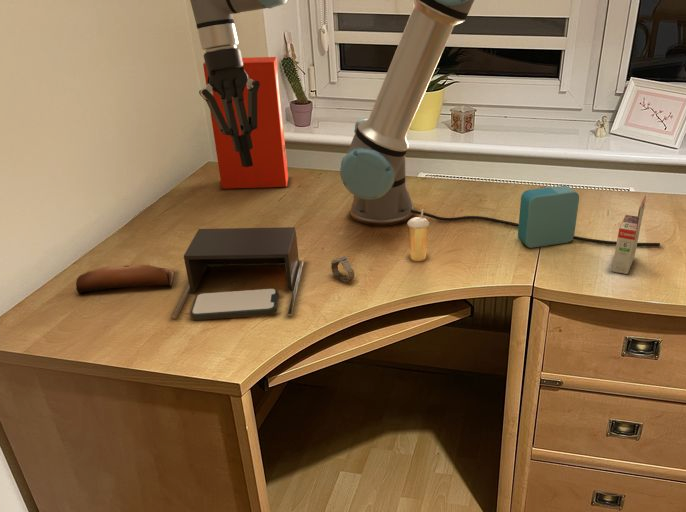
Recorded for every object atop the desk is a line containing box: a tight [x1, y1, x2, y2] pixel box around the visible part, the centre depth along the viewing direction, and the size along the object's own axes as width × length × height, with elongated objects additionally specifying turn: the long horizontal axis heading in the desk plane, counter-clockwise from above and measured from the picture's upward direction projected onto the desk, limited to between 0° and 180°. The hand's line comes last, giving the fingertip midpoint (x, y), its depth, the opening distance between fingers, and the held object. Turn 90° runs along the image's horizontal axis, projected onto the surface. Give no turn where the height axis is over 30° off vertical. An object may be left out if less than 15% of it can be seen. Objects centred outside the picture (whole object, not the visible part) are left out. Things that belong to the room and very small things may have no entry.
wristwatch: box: [330, 255, 356, 283], centre depth 143 cm, size 4×6×5 cm, turn 41°
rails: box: [171, 260, 305, 320], centre depth 141 cm, size 22×23×1 cm
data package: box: [517, 185, 580, 249], centre depth 156 cm, size 12×4×12 cm, turn 107°
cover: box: [183, 226, 300, 293], centre depth 144 cm, size 20×13×8 cm, turn 91°
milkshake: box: [406, 209, 430, 262], centre depth 151 cm, size 5×5×10 cm
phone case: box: [189, 288, 279, 321], centre depth 135 cm, size 9×2×16 cm
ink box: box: [610, 194, 647, 275], centre depth 145 cm, size 4×8×15 cm, turn 156°
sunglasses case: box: [75, 264, 175, 294], centre depth 143 cm, size 18×7×7 cm, turn 99°
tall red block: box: [202, 56, 289, 190], centre depth 185 cm, size 8×17×32 cm, turn 94°
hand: (247, 165), depth 153 cm, fingers closed
